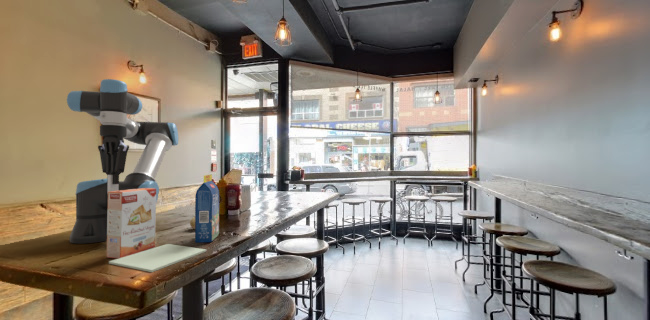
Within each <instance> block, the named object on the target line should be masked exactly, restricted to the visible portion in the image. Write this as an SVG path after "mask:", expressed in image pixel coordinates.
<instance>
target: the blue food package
mask: <svg viewBox="0 0 650 320" xmlns="http://www.w3.org/2000/svg"><path fill="white" fill-rule="evenodd" d="M212 176H213V175H212V174H205V175H203V183H202V184H201V185H200V186H199V187H198V189H196V192H195V201H194V203H195V204H194V205H195V208H194V209H195V211H194V215H195V230H194V231H195V232H194V243H212V242H213V241H214V240H215V239H216V238H217V237H218V236H219V234H220V190H219V188H218V186H217V185H216V183H215V182H214V181H213V180H212V179H213V177H212Z"/></svg>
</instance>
